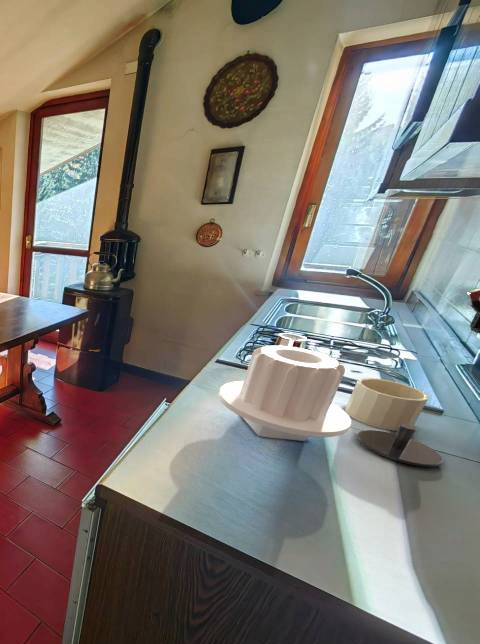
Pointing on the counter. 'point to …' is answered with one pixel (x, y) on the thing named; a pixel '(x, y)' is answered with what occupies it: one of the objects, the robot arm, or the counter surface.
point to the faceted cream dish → (385, 403)
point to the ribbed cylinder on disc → (289, 394)
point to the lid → (400, 446)
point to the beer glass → (291, 340)
